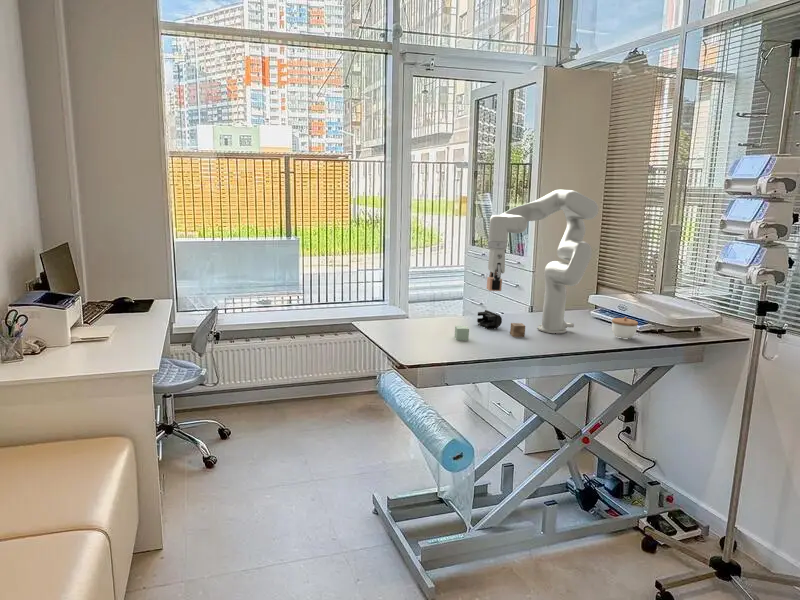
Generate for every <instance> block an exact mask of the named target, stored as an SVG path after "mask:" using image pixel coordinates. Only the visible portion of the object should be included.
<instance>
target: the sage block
mask: <svg viewBox="0 0 800 600" xmlns="http://www.w3.org/2000/svg"><path fill="white" fill-rule="evenodd" d="M469 337H470V328H469V326H467V325H455V326H454V338H456V339H455V340H456V341H469V339H470V338H469Z"/></svg>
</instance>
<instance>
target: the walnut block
mask: <svg viewBox="0 0 800 600" xmlns="http://www.w3.org/2000/svg"><path fill="white" fill-rule="evenodd" d="M509 334H510V335H511V336H512V337H514V338H525V335H526V325H525V324H524V323H521V322H511V323H510V331H509Z"/></svg>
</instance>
